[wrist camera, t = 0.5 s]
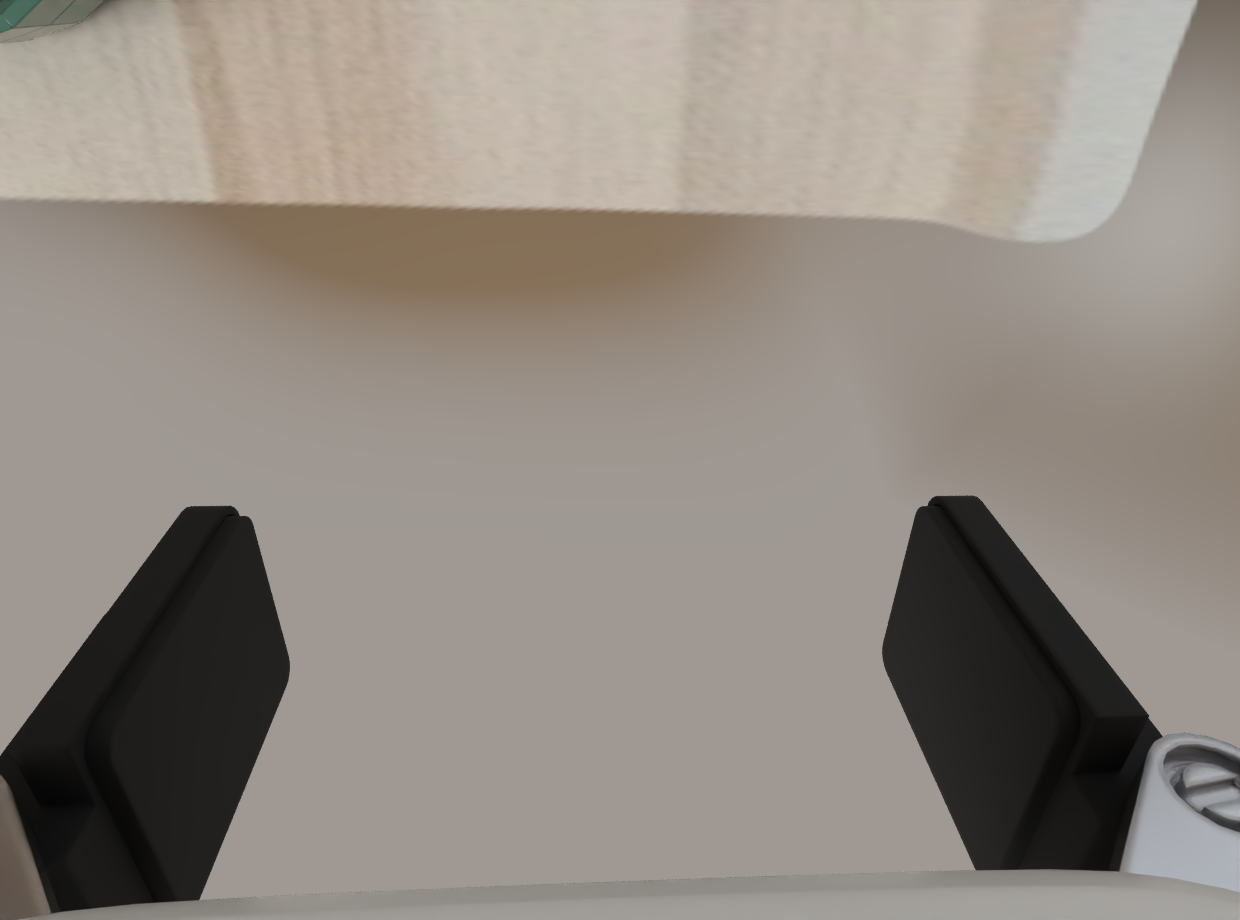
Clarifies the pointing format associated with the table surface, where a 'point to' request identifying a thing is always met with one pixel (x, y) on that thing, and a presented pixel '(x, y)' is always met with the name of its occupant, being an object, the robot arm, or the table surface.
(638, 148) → the table surface
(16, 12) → the bowl
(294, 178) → the table surface
